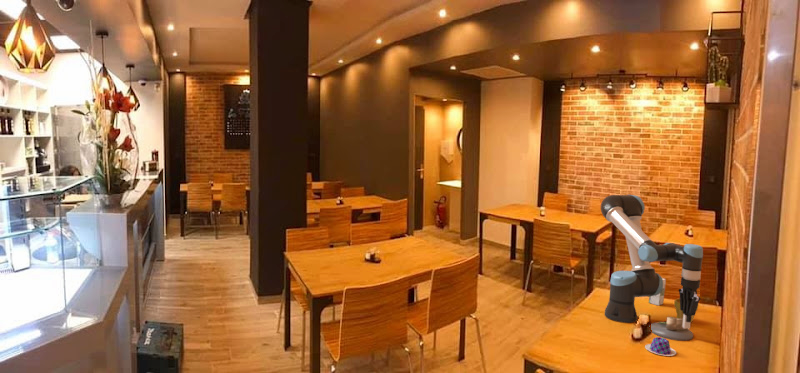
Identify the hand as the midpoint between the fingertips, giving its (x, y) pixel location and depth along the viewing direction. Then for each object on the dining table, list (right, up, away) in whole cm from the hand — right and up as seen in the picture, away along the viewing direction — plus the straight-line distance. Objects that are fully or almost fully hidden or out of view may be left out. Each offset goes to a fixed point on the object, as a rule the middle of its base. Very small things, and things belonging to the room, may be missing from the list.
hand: (686, 327), depth 225 cm
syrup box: (+11, 0, +47) cm, 48 cm away
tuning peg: (-2, -2, +4) cm, 5 cm away
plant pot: (+12, -3, +22) cm, 25 cm away
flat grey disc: (-5, -4, +5) cm, 7 cm away
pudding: (-20, -6, -16) cm, 26 cm away
